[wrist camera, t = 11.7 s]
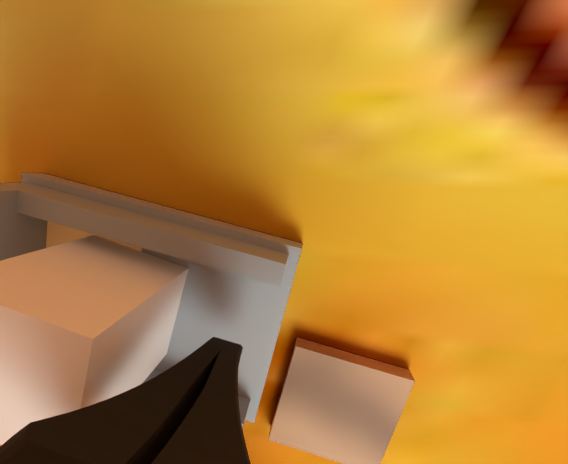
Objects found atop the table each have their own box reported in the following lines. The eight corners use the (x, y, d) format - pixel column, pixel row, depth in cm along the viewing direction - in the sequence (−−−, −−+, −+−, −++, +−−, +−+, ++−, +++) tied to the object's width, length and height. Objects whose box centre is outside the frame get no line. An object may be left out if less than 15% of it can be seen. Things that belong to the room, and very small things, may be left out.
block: (188, 268, 14) (93, 339, 8) (166, 353, 15) (68, 471, 9) (93, 235, 14) (-69, 279, 8) (79, 321, 15) (-72, 416, 9)
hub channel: (257, 408, 16) (238, 483, 12) (33, 338, 17) (-53, 388, 13) (302, 243, 14) (297, 270, 10) (41, 172, 15) (-59, 172, 11)
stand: (373, 459, 16) (376, 474, 15) (270, 427, 16) (268, 440, 15) (409, 370, 15) (414, 381, 14) (296, 337, 15) (295, 346, 14)
